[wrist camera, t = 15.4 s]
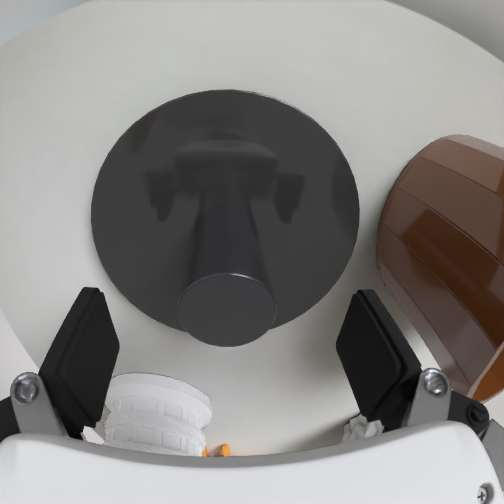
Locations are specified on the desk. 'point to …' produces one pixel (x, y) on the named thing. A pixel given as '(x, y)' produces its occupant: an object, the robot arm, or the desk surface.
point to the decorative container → (156, 415)
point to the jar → (451, 258)
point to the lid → (225, 214)
